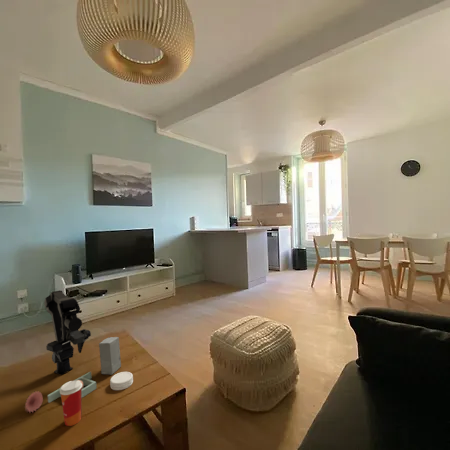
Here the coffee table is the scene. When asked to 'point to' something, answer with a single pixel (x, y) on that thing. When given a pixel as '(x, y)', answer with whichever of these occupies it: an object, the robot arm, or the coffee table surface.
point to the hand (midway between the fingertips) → (70, 357)
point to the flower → (34, 401)
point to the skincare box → (110, 355)
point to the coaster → (121, 380)
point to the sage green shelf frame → (90, 387)
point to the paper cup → (71, 402)
